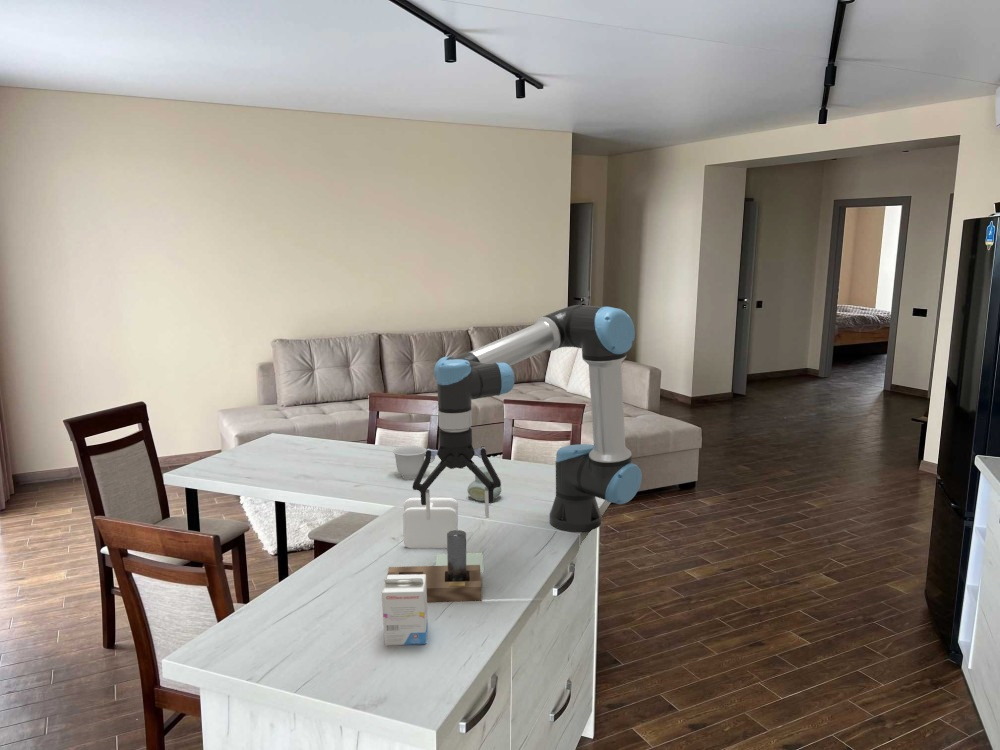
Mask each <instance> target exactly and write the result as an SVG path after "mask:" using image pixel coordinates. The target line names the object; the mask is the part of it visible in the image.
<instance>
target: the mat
mask: <svg viewBox="0 0 1000 750" xmlns="http://www.w3.org/2000/svg"><path fill="white" fill-rule="evenodd" d="M466 565H480V574H483V573H485V569H484V568H485V567H484V556H483V552H475V553H474V552H468V553H467V552H466ZM435 566H448V564H447V553H436V557H435Z"/></svg>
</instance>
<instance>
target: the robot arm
mask: <svg viewBox="0 0 1000 750" xmlns="http://www.w3.org/2000/svg"><path fill="white" fill-rule="evenodd" d="M635 332H636V329H635V326H634V321H633V320H632V317H630V314H628V313H627V312H626V311H624V310H623V309H621V308H616V307H612V306H604V305H603V306H601V305H600V306H599V305H584V304H576V305H575V304H574V305H570V306H567V307H564V308H562V309H557V310H555V311H553V312H551V313H548V314H546V315H544V316H541V317H539V318H538V319H537V320H536V321H535V323H534V324H532V325H530V326H528V327H525V328H522V329H520V330H518V331H515V332H513V333H511V334H509V335H506V336H504V337H502V338H499V339H497V340H495V341H493V342H490V343H487V344H486V345H483V346H481V347H477V348H476V349H473V350H470V351H468V352H466V353H464V354H461V355H458V356H455V357H454V356H443V357H441V358H440V359H438V361H436V363H435V364H434V365H435V366H434V368H433V374H434V375H433V376H434V379H435V380H436V387H437V388H436V389H437V390H436V391H437V409H438V410H437V414H438V415H437V416H438V417H437V418H438V420H437V421H438V422H437V423H438V427H439V430H438V444H439V445H438V449H431V448H430V447H427V448H426V453H425V454H426V456H425V457H424V462H423V464H422V466H421V468H420V470H419V472H418V474H417V477H416V479H414V481H413V484H412V490H413V491H419V493H420V498H421V504H422V505H426V519H427V520H430V498H431V497H430V489H429V487H430V486H431V485H432V484H433V482H435V480H436V479H437V478H438V477H439V475H440V474H441V473H442V472H444V470H445V469H446V468H448V469H449V470H454V469H464V468H465V467H467V468H468V470H469V471H471V472H472V473H473V474H474V476H475V475H476V476H477V477H478V479H479V480H480V481H481V482H482V483H483V484H484V485H485V486H486V487H485V501H484V508H485V509H484V511H485V514H484V516H485V519H488V518H490V514H489V513H490V510H489V508H490V507H489V506H490V504H492V503H494V499H493V490H494V488H496V487H500V486H501V487H502V482H501V479H500V477H499V476H498V474H497V472H496V470H495V468H494V466H493V465H492V463H491V461H490V459H489V457H488V456H487V448H486V446H485V445H482V446H480V447H479V448H474V447H473V430H472V428H471V427H472V425H473V424H472V423H473V421H472V401H473V400H477V399H483V398H489V397H495V396H496V397H497V396H498V397H499V396H500V395H504V394H508V393H510V392H511V391H512V390H513V388H514V385H515V373H514V371H513V369H512V367H511V366H513V365H516V364H517V363H519V362H522V361H524V360H526V359H527V360H528V359H530V358H531V357H534V356H535V355H539V354H540V353H542V352H544V351H550V352H553V351H556V350H558V349H561V348H578V349H581V357H582V360H583V361H584V362H585V363H586V364H587V365H588V374H589V390H590V391H589V392H590V404H591V405H590V406H591V407H590V408H591V423H592V437H593V444H589V443H588V444H581V443H579V444H571V445H565V446H562V447H560V448H558V449H557V451H556V459H555V461H554V462H555V498H554V500H553V503H552V506H551V509H550V512H549V523H550V524H549V525H550V526H553V527H555V528H556V529H559V530H561V531H567V532H587V531H592V530H595V529H597V528H600V527H601V525H602V515H601V511H600V508H599V504H598V502H597V498H599V499H601V500H604V501H606V502H608V503H613V504H618V505H623V504H626V503H628V502H630V501H631V500H632V499H633V498H634V497H635V496H636V495H637V493H638V491H639V489H640V487H641V485H642V478H643V476H642V475H643V474H642V470H641V468H640V467H639V466H638V465H637V464H635V463H633V461H632V460H633V458H632V457H633V456H632V451H631V450H630V449H628V447H627V446H626V431H625V416H624V415H625V414H624V412H625V411H624V396H623V395H624V393H623V377H622V362H623V361H624V360H625V359H626V358H627V352H628V351H630V349H631V348H632V346H633V342H634V341H635V337H636V336H635V335H636V333H635ZM475 455H476V456H477V457H478V458H479V459H481V460H482V462H483V465H484V467H486V468H487V470H488V472H489V474H490V476H491V478H492V479H493V482H491V481H490V480H489V479H488V478H487V477H486V476H485V474H484V473H483V472H482V471H481V470H480V469H479V468H478V467H479V466H477V465H476V463H475V462H474V460H472V459H473V457H474V456H475ZM436 456H437V457H438V459H439V460H440V461H439V462H438V465H436V467H435V468H434V469H433V471H432V472H431V473H430V474H429V475H428V477H427V478H426V479H425V480H424V481H423V483H422V480H423V478H424V475H425V474H426V471H427V470H428V467H429V465H430V464H431V463H430V460H431V459H434V457H435V458H436ZM434 460H435V459H434Z"/></svg>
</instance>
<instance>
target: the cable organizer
mask: <svg viewBox="0 0 1000 750" xmlns="http://www.w3.org/2000/svg"><path fill="white" fill-rule="evenodd" d="M458 504H459V503H458V501H457V500H456V499H455V498H453V497H430V520H427V519H426V505H422V504H421V497H410V498H407V499H406V500H405V501H404V503H403V514H402V521H403V522H402V525H403V526H402V527H403V544H404V546H405V547H406V548H408V549H447V533H448V532H450V531H453V530H459V509H458V507H459V505H458Z"/></svg>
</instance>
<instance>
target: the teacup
mask: <svg viewBox="0 0 1000 750" xmlns="http://www.w3.org/2000/svg"><path fill="white" fill-rule="evenodd" d="M426 449H427V448H426V447H423V446H420V445H404V446H400V447H399V446H398V447H396V448H394V449H393V450H392V453H393V455H394V458H395V463H396V469H397V472H398V473H399V474H400V475H402V479H404V480H409V481H410V480H412V481H413V480H415V479H416V477H417V474H418V472H419V470H420V468H421V466H422V464H423V462H424V460H425V457H426ZM435 459H436V456H435V457H434V459H431V460H430V463H429V464H432V463H433V462H434V461H435Z"/></svg>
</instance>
